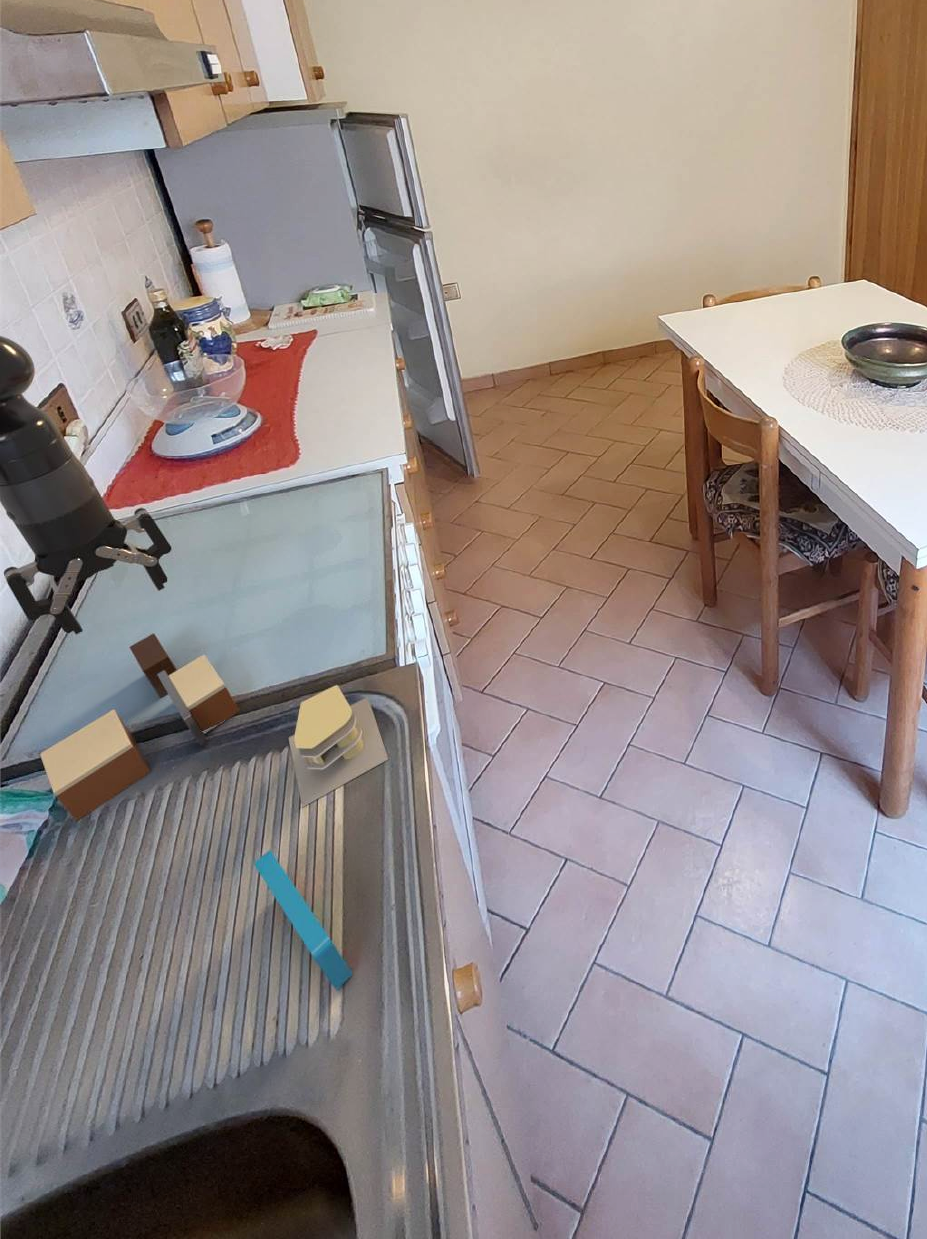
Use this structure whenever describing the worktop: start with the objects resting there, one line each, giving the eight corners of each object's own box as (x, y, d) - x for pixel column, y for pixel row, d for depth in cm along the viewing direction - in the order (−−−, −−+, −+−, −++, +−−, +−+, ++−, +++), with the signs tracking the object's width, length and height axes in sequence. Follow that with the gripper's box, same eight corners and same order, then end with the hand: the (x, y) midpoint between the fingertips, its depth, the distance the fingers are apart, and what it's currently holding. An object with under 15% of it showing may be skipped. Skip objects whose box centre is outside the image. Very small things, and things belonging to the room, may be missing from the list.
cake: (77, 820, 77) (53, 792, 74) (62, 781, 81) (39, 753, 78) (150, 771, 81) (130, 743, 79) (133, 736, 85) (113, 708, 83)
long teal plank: (276, 896, 68) (252, 860, 65) (292, 883, 69) (268, 847, 66) (337, 992, 61) (313, 957, 58) (354, 975, 62) (331, 940, 59)
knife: (192, 754, 82) (173, 726, 80) (146, 673, 94) (129, 646, 91) (218, 736, 84) (200, 708, 82) (170, 659, 95) (153, 632, 93)
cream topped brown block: (204, 734, 85) (186, 707, 82) (185, 702, 89) (167, 675, 86) (240, 711, 87) (224, 683, 85) (219, 681, 91) (203, 653, 89)
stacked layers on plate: (288, 737, 83) (271, 706, 81) (368, 696, 87) (354, 665, 85) (302, 807, 76) (283, 775, 73) (388, 759, 80) (374, 727, 77)
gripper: (119, 458, 86) (175, 561, 93) (-36, 521, 77) (41, 629, 84) (137, 480, 81) (195, 586, 89) (-25, 549, 72) (55, 661, 80)
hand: (120, 607), depth 87 cm, fingers open, 8 cm apart
